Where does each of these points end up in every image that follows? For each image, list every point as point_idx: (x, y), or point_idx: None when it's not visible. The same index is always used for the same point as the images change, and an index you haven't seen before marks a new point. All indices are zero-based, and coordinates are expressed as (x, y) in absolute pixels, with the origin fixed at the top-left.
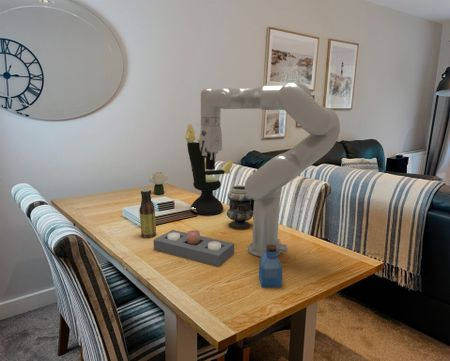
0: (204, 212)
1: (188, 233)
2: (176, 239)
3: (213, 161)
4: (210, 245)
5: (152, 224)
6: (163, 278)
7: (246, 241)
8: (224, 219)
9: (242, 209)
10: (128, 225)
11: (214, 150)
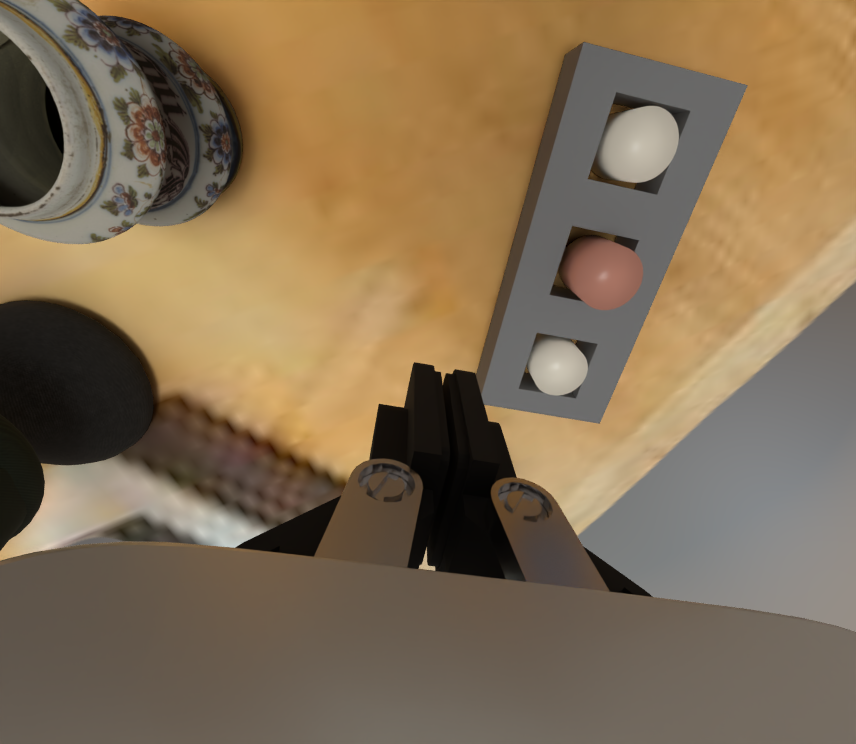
0: (140, 372)
1: (623, 298)
2: (576, 347)
3: (473, 438)
4: (665, 160)
5: None
6: (806, 275)
7: (394, 21)
8: (137, 250)
9: (164, 85)
10: None
11: (708, 644)
